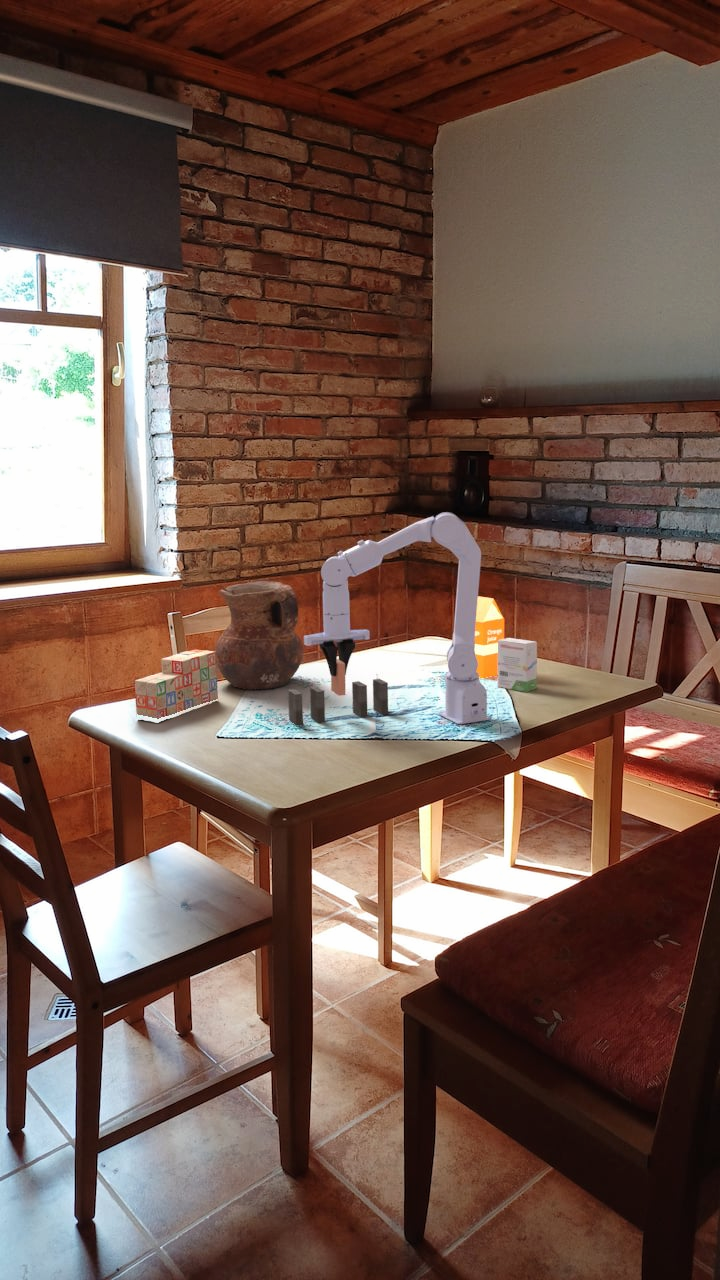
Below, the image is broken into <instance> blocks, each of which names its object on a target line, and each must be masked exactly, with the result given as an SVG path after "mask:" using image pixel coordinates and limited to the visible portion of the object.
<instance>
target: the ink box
mask: <svg viewBox="0 0 720 1280" xmlns="http://www.w3.org/2000/svg"><path fill="white" fill-rule="evenodd" d="M537 676H538V642H537V641H533V640H527V639H520V638H513V637H506V638H504V639H501V640H499V641H498V676H497V688H501V687H503V688H502V689H506V690H507V689H508V690H511V691H512V690H514V691H518V692H522V693H523V692H525V693H528V692H530V691H534V690H536V689H537V687H538V686H537V684H538V682H537V681H538V680H537V679H538V677H537Z"/></svg>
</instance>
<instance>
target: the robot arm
mask: <svg viewBox="0 0 720 1280" xmlns="http://www.w3.org/2000/svg"><path fill="white" fill-rule="evenodd" d="M432 538H433V539H434V541H435V542H436V543H438V545H441V546H443V547H444V548H446V549H448V550H450V552H451V553H452V554H453V555H454V556H455V557H456V558H457V559H458V570H457V580H456V581H457V582H456V583H457V584H456V595H455V596H456V597H455V611H454V622H453V632H452V639H451V640H452V641H451V645H450V646H449V648H448V650H447V653H446V660H447V668H448V671H447V672H446V673H445V676H444V677H445V685H444V686H445V710H442V711H438V712H437V715H440V716H441V717H443V718H445V719H447V720H448V721H450V722H452V723H454V724H457V725H462V724H470V723H478V722H483V721H485V722H486V721H490V720H491V717H490V716H488V715H487V714H488V712H487V709H488V706H487V705H488V702H487V701H488V698H487V697H488V694H487V693H488V692H487V689H486V687H485V686H484V685H483V684H482V683H481V681H480V678H479V673H478V672H476V671H477V668H478V661H477V658H476V654H475V626H476V614H477V601H478V596H479V589H480V588H479V587H480V576H481V575H480V574H481V561H482V551H481V549H480V548H481V547H479V545H478V543H477V542H476V540H475V538H474V537H473V535H472V534H471V532H470V530H469V528H468V527H467V524H466V523H465V522H464V521H463V520H462V519H460V518H459V516H457V515H456V514H454V513H453V512H448V511H446V512H441V513H439V514H437V515H436V516H435V517H434V516H430V517H427V518H424V519H421V520H419V521H416V522H414V523H412V524H410V525H408V526H407V527H404V528H402V529H401V530H398V531H396V532H395V533H393V534H391V535H389V536H387V537H385V538H383V539H381V540H380V541H378V542H377V541H373V540H371V539H368V540H365V541H364V539H360V540H359V541H357V545H355V546H353V547H351V548H348V549H346V550H345V551H343V550H339V551H338V552H337V556H336V555H335V556H331V557H329V558H328V559H326V561H325V562H324V563H323V564H322V566H321V570H320V575H321V579H322V580H323V582H322V620H323V632H318V633H313V634H309V635H304V636H303V645H305V646H307V647H310V646H312V645H313V646H314V645H319V648H320V650H321V651H322V653H323V655H324V657H325V659H326V663H327V666H328V670H329V674H330V676H331V675H332V676H336V674H337V663H336V661H337V659H339V660H340V661H342V662H343V663H345V676H346V675H347V671H348V670H347V669H348V664H349V662H350V659H351V656H352V655H353V652H354V650H355V648H356V642H354V641H359V640H365V641H367V640H370V636H371V635H370V634H371V633H370V630H369V629H351V616H350V615H351V614H350V613H351V612H350V610H351V609H350V591H349V579H348V578H349V577H357V576H358V575H361V574H363V573H365V572H367V571H369V570H371V569H373V568H375V567H378V566H379V565H381V564H382V562H383V558H384V556H387V555H389V554H390V553H394V552H396V551H397V550H400V549H402V548H405V547H407V546H409V545H412V544H414V543H415V542H423V543H424V542H425V543H426V542H427V543H432ZM337 657H338V658H337Z"/></svg>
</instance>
